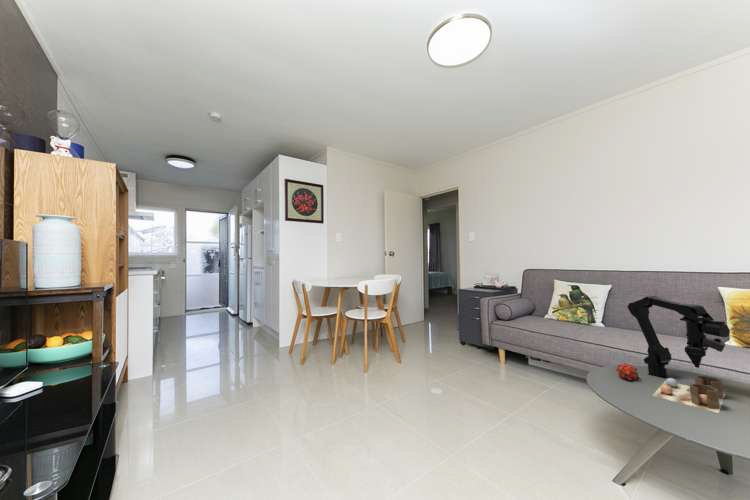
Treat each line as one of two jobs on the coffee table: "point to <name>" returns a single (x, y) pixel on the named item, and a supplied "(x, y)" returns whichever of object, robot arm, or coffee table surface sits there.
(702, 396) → the terracotta ball in tube
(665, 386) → the terracotta ball
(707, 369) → the coffee table surface
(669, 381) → the slate-blue ball
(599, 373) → the coffee table surface
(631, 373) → the dragon fruit
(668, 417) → the coffee table surface
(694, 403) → the cream wooden tray
